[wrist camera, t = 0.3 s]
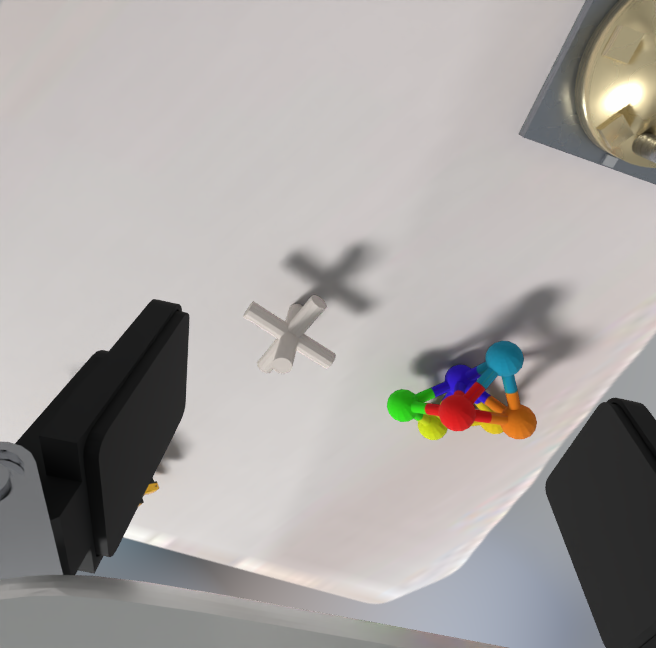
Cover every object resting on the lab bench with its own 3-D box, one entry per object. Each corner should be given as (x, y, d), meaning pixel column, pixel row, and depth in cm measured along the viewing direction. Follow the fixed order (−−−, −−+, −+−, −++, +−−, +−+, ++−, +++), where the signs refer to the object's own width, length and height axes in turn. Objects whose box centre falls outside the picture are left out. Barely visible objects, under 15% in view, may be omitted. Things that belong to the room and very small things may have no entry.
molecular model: (523, 376, 57) (510, 318, 45) (552, 452, 52) (546, 408, 40) (407, 408, 61) (367, 363, 50) (423, 481, 56) (383, 450, 44)
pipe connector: (283, 251, 47) (264, 298, 39) (361, 304, 50) (359, 359, 41) (235, 316, 52) (209, 371, 43) (308, 362, 54) (296, 422, 46)
